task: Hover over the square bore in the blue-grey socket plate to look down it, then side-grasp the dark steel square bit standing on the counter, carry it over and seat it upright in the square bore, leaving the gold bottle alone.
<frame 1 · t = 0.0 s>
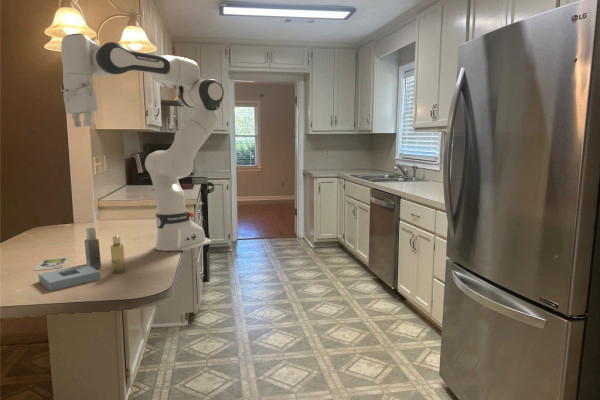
hand: (82, 126, 143), 48 cm above the counter, tool pointing down, fingers open, 8 cm apart
handheld gaming device: (53, 265, 151), on the counter
socket plate: (70, 280, 132), on the counter
square bit: (94, 268, 144), on the counter
gold bottle: (119, 272, 140), on the counter
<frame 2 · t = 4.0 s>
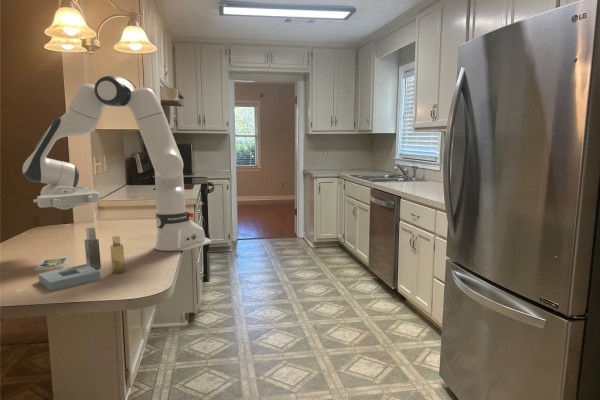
hand: (76, 201, 149), 22 cm above the counter, tool horizontal, fingers open, 8 cm apart
nothing on the counter moved.
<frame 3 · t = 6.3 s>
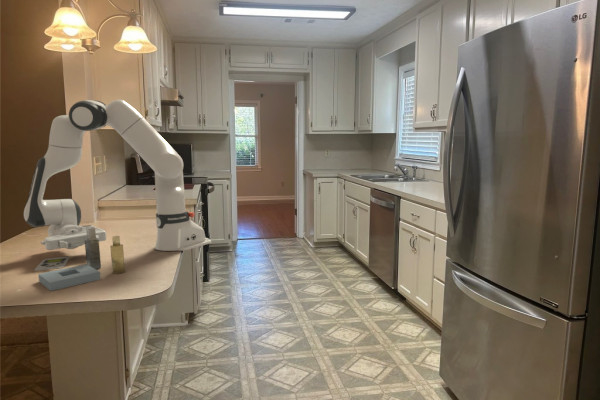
hand: (83, 242, 150), 7 cm above the counter, tool horizontal, fingers open, 8 cm apart
nothing on the counter moved.
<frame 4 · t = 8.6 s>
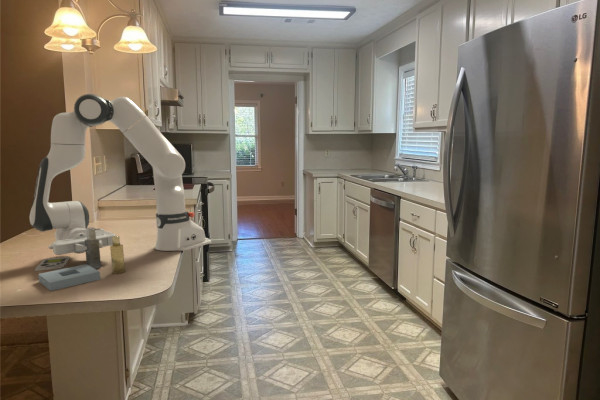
hand: (93, 247, 143), 8 cm above the counter, tool horizontal, fingers closed on square bit, 3 cm apart
square bit: (94, 268, 144), on the counter, touching gripper
everything else where it was.
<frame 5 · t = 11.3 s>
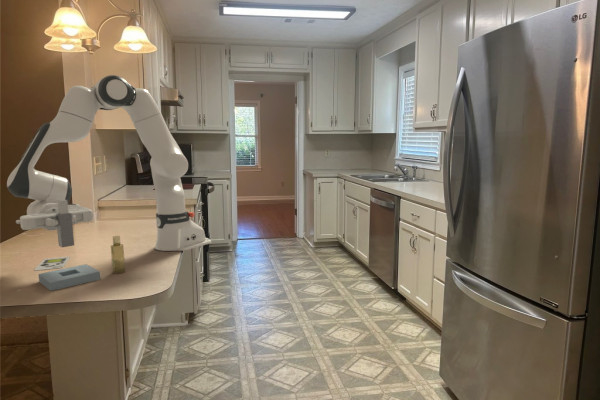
hand: (65, 221, 129), 19 cm above the counter, tool horizontal, fingers closed on square bit, 3 cm apart
square bit: (66, 245, 130), point 11 cm above the counter, touching gripper
everything else where it was.
when the fingers open (9 cm above the counter, at t = 13.8 s): square bit drops 1 cm, resting in socket plate.
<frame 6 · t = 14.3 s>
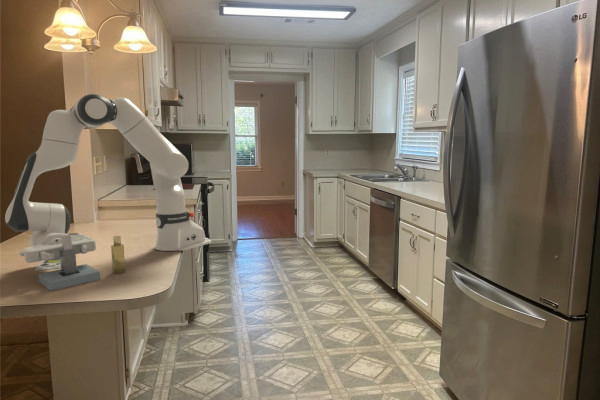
hand: (68, 254, 130), 9 cm above the counter, tool horizontal, fingers open, 8 cm apart
square bit: (70, 280, 132), resting in socket plate
everything else where it was.
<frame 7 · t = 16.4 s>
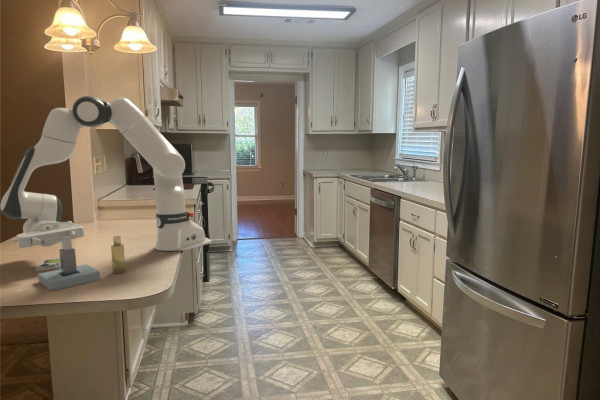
hand: (58, 239, 140), 11 cm above the counter, tool horizontal, fingers open, 8 cm apart
nothing on the counter moved.
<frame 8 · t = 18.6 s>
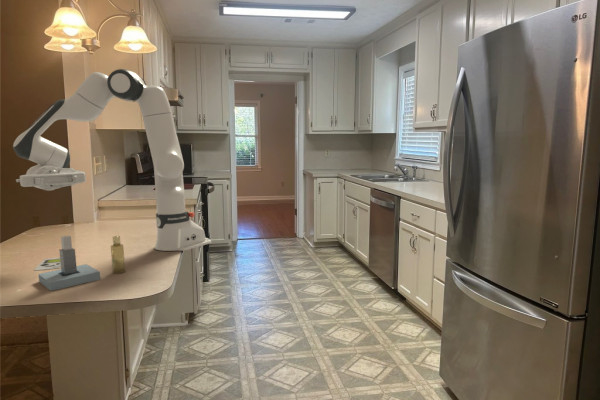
hand: (60, 180, 144), 30 cm above the counter, tool horizontal, fingers open, 8 cm apart
nothing on the counter moved.
at the end: square bit 0.1 cm off-centre on the socket plate, point 0.0 cm above the socket plate's base; square bit tilted 0°; the gripper is holding nothing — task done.
